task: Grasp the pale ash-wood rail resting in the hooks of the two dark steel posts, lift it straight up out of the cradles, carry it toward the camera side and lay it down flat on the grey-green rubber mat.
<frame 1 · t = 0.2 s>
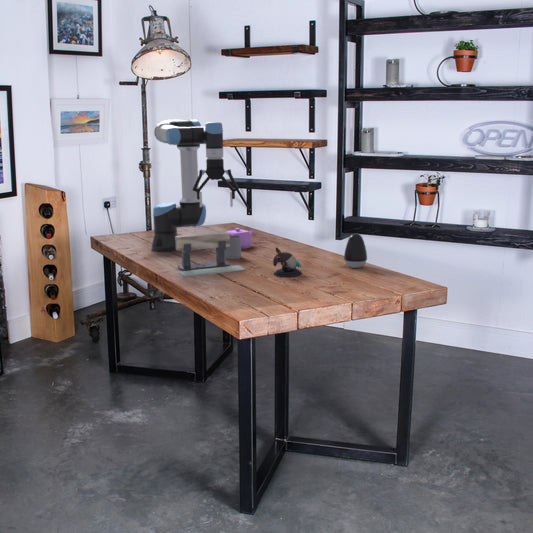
hand: (216, 206, 284), 27 cm above the table, fingers open, 13 cm apart
cup: (232, 257, 309), on the table
figurine: (287, 274, 275), on the table
teapot: (238, 247, 332), on the table
rack: (203, 267, 288), on the table
mat: (212, 271, 281), on the table
rail: (203, 247, 286), point 9 cm above the table, touching rack
black speaker: (355, 267, 286), on the table
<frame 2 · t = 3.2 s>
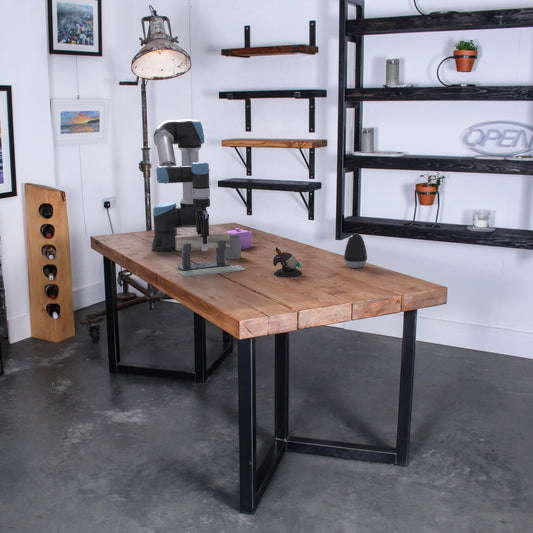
hand: (203, 249, 287), 8 cm above the table, fingers closed on rail, 4 cm apart
rail: (203, 247, 286), point 9 cm above the table, touching gripper, rack
everything else where it was.
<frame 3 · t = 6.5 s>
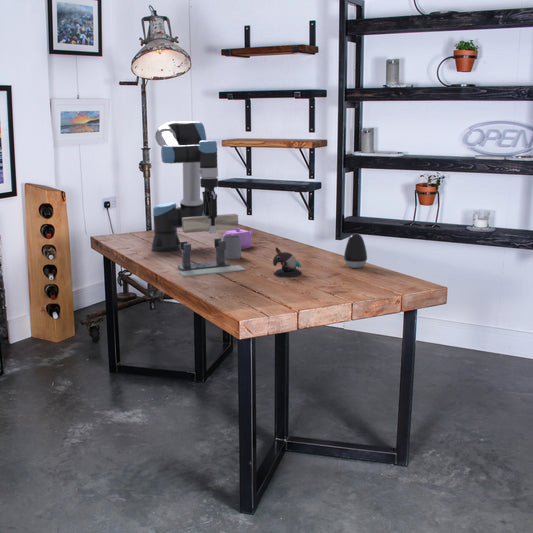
hand: (210, 232, 277), 18 cm above the table, fingers closed on rail, 4 cm apart
rail: (210, 230, 276), point 18 cm above the table, touching gripper
everything else where it was.
when the fingers open (2 cm above the table, at t = 9.8 s): rail drops 2 cm, resting on mat.
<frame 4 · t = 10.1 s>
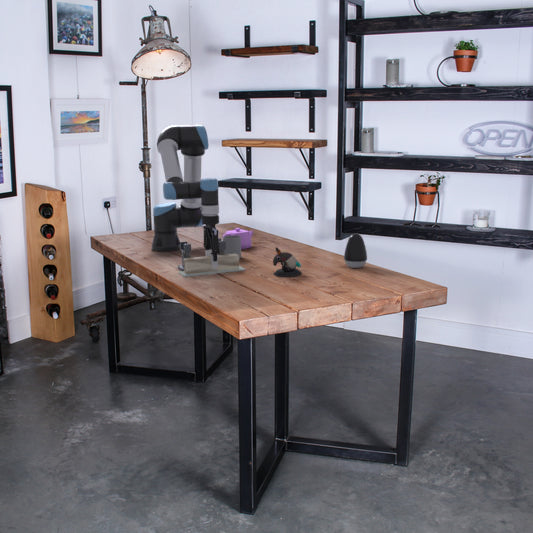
hand: (211, 266, 280), 2 cm above the table, fingers open, 8 cm apart
rail: (211, 270, 281), point 1 cm above the table, touching mat
everything else where it was.
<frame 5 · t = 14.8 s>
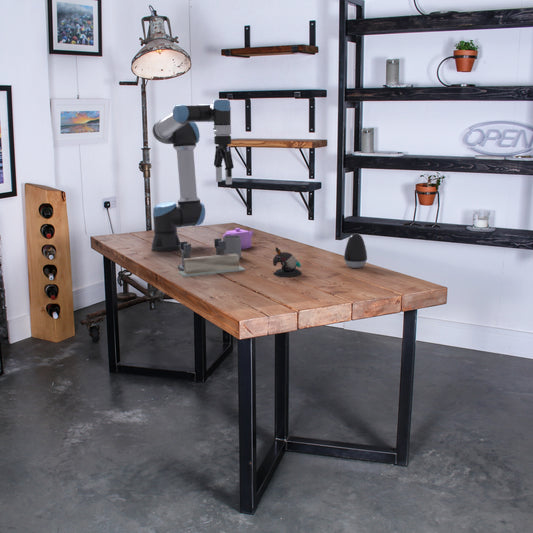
hand: (223, 183, 291), 37 cm above the table, fingers open, 13 cm apart
nothing on the table moved.
at the end: rail inside the target area on the mat (0.1 cm from its centre), point 0.6 cm above the mat's base; rail tilted 0°; the gripper is holding nothing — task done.
